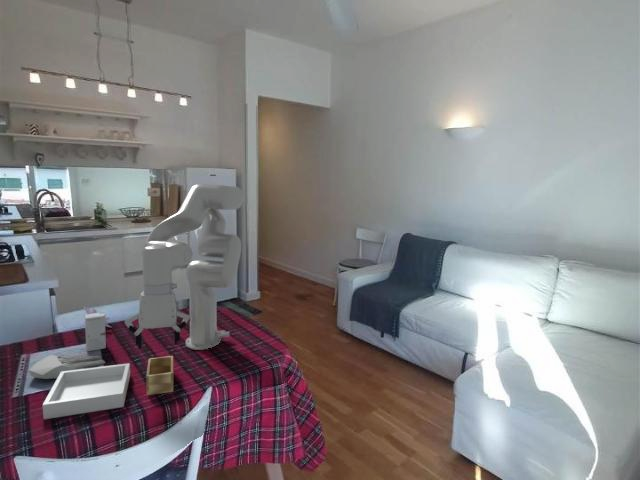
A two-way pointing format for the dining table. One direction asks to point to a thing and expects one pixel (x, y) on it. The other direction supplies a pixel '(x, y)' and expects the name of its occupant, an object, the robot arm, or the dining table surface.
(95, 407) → the white tray
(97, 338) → the skincare box
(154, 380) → the pine crate
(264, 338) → the dining table surface
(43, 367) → the turret
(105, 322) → the water lily
